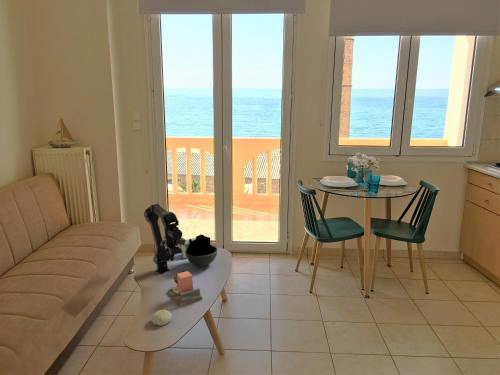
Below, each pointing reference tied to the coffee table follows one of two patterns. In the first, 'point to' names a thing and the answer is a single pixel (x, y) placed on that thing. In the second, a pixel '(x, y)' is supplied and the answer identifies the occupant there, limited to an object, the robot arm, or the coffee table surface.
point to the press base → (185, 296)
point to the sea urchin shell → (161, 317)
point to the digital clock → (185, 247)
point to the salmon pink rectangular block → (184, 282)
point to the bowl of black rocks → (201, 251)
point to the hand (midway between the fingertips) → (172, 260)
